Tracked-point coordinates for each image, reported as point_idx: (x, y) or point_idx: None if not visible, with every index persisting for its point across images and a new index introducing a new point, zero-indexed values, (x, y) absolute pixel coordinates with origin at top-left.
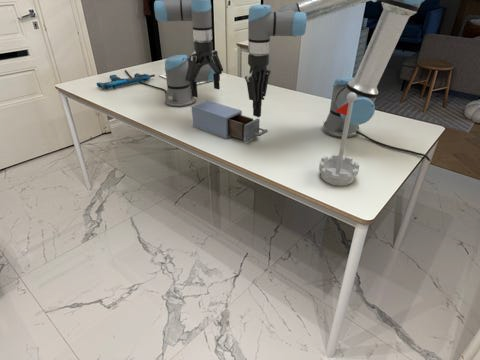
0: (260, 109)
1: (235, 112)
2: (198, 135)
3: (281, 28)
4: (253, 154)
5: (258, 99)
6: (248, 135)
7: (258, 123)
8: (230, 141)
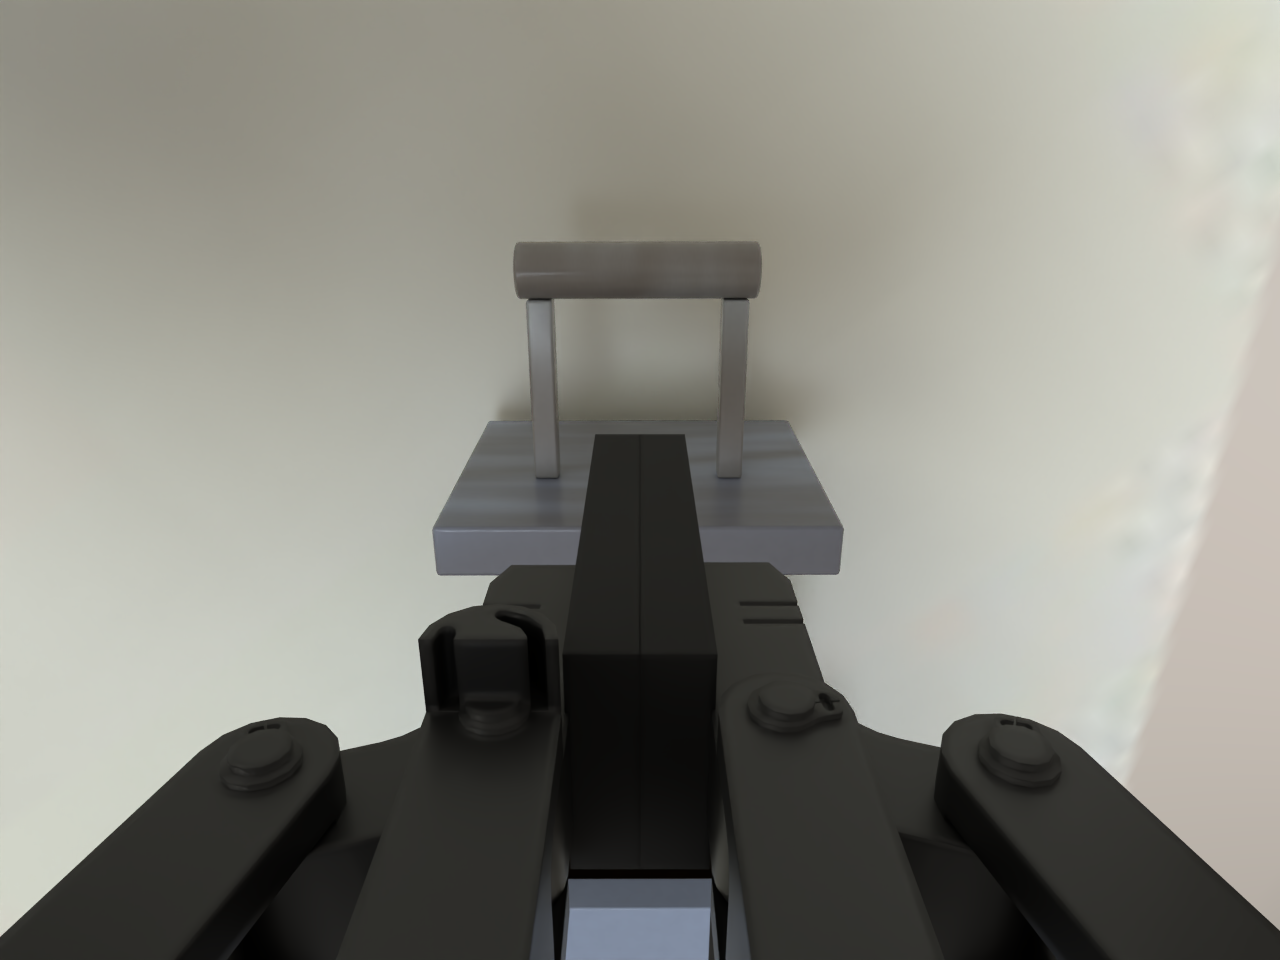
0: (612, 502)
1: (570, 930)
2: None
3: None
4: (947, 164)
5: (770, 704)
6: (744, 452)
7: (477, 496)
8: (809, 612)
